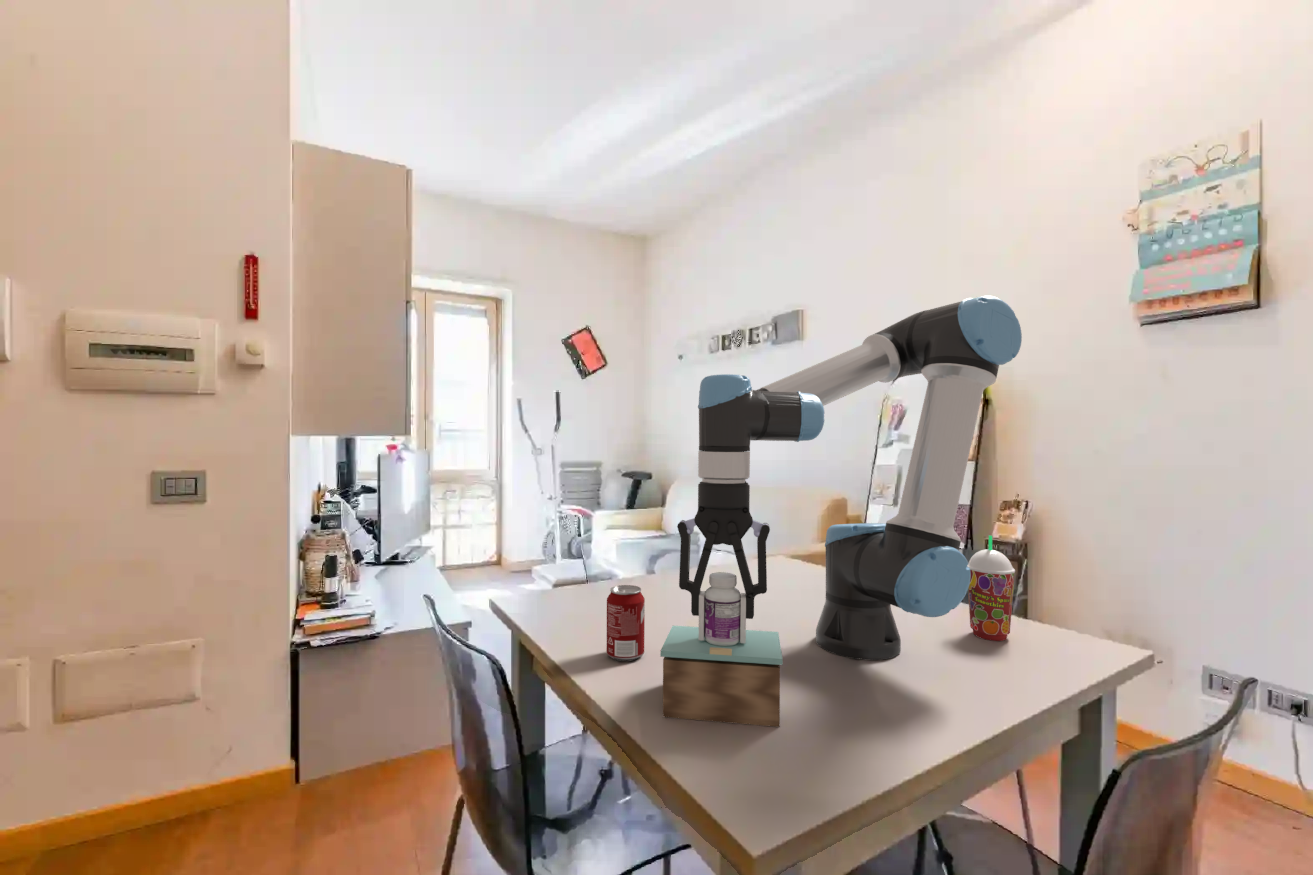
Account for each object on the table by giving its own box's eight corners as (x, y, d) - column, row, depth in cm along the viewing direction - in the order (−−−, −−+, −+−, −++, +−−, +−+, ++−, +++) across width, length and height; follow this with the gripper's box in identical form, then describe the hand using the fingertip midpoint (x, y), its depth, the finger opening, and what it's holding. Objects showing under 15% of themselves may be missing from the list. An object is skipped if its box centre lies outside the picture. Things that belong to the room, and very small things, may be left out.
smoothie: (968, 640, 112) (969, 537, 112) (963, 627, 120) (964, 531, 120) (1018, 646, 109) (1019, 540, 109) (1010, 632, 116) (1010, 533, 116)
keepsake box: (775, 688, 90) (776, 637, 90) (779, 726, 78) (780, 667, 78) (674, 681, 92) (674, 631, 92) (662, 716, 80) (663, 659, 80)
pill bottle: (701, 634, 87) (701, 570, 87) (735, 633, 87) (736, 570, 87) (707, 647, 81) (708, 579, 81) (744, 646, 82) (745, 579, 82)
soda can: (639, 664, 99) (639, 595, 99) (601, 661, 100) (602, 592, 100) (647, 650, 105) (648, 585, 105) (612, 647, 107) (612, 583, 107)
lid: (778, 636, 89) (778, 627, 90) (782, 664, 77) (782, 654, 77) (672, 630, 92) (672, 621, 92) (660, 656, 80) (660, 646, 80)
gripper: (786, 480, 87) (784, 634, 87) (665, 477, 90) (664, 626, 90) (789, 483, 79) (787, 652, 79) (658, 481, 82) (656, 643, 82)
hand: (722, 638), depth 84 cm, fingers closed on pill bottle, 5 cm apart
